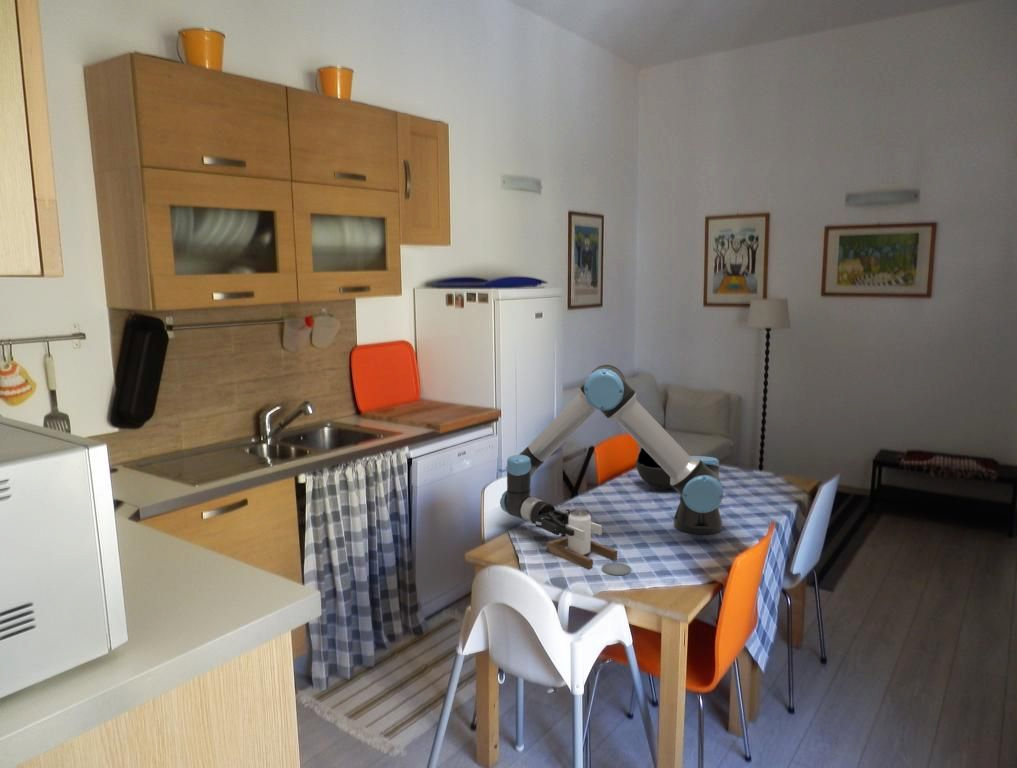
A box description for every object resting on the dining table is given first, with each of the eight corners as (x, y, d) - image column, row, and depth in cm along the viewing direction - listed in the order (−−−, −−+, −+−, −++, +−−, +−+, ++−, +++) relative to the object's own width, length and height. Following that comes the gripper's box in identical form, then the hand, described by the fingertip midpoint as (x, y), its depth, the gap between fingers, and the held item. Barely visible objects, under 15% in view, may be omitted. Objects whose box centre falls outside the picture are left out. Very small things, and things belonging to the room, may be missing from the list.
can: (588, 547, 215) (589, 508, 213) (591, 555, 209) (592, 515, 207) (566, 547, 215) (567, 508, 213) (569, 555, 208) (569, 515, 207)
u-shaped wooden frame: (574, 541, 222) (574, 533, 221) (617, 559, 208) (617, 550, 208) (546, 550, 215) (546, 542, 214) (588, 569, 201) (588, 560, 201)
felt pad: (615, 561, 206) (615, 560, 206) (637, 570, 200) (637, 569, 200) (595, 568, 201) (595, 567, 201) (617, 578, 195) (617, 576, 195)
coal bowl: (669, 478, 290) (670, 432, 287) (699, 492, 272) (701, 443, 269) (625, 483, 283) (626, 436, 280) (653, 498, 264) (655, 447, 262)
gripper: (561, 517, 231) (615, 538, 213) (514, 531, 219) (567, 553, 201) (561, 494, 230) (615, 513, 212) (514, 507, 218) (567, 527, 200)
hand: (592, 533), depth 207 cm, fingers closed on can, 6 cm apart
